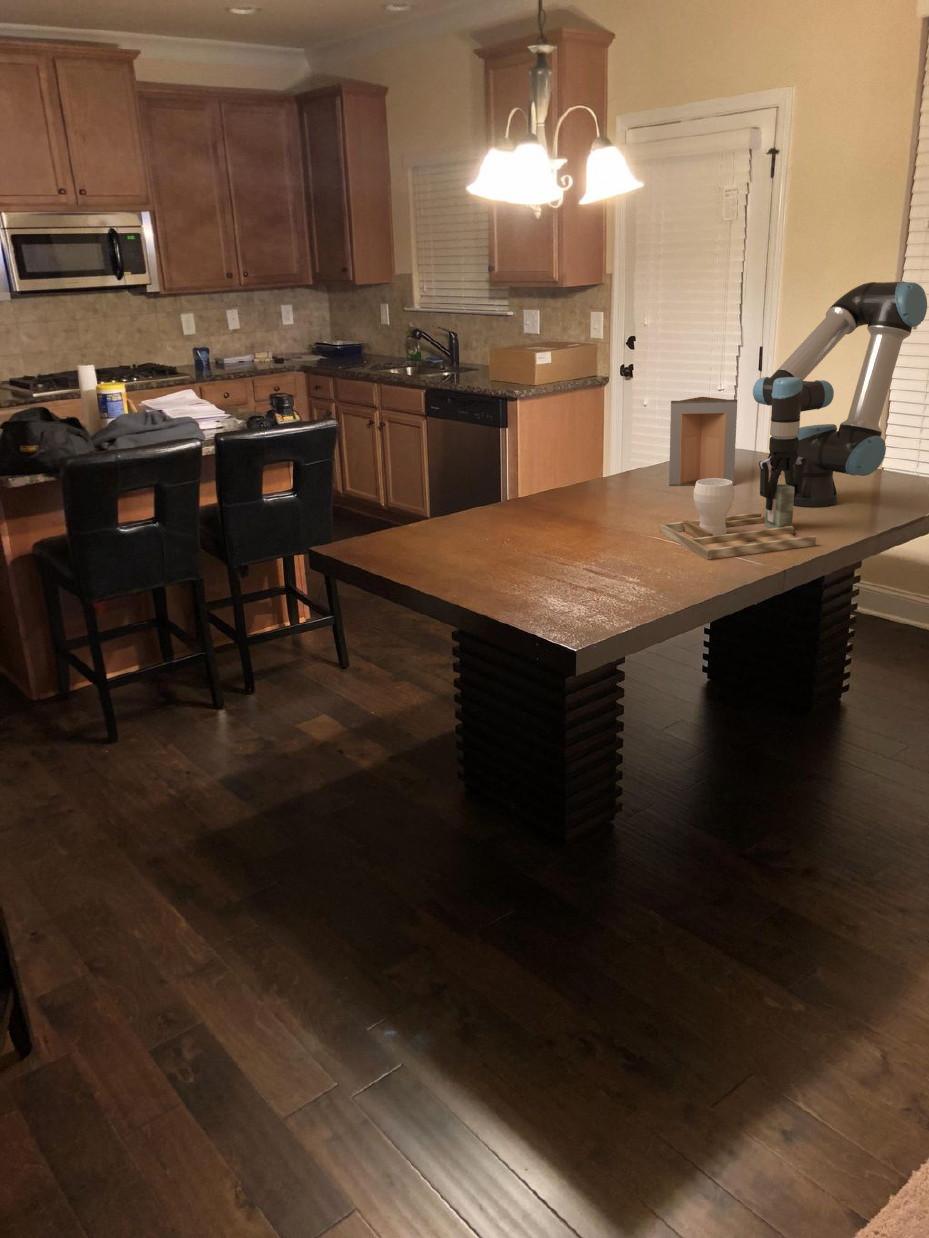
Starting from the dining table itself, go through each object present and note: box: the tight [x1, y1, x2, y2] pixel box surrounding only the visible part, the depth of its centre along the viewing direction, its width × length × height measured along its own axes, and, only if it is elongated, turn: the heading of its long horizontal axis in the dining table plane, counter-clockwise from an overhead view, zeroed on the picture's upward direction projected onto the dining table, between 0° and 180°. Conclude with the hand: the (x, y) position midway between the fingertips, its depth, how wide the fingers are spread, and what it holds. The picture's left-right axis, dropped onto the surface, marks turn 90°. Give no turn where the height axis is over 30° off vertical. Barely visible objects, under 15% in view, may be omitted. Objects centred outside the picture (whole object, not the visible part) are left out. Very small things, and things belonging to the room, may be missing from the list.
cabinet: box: [668, 396, 738, 487], centre depth 324 cm, size 21×10×28 cm, turn 77°
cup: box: [693, 478, 735, 536], centre depth 266 cm, size 11×11×15 cm
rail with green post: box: [682, 481, 796, 538], centre depth 268 cm, size 27×15×12 cm, turn 104°
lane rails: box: [659, 512, 817, 561], centre depth 264 cm, size 31×28×2 cm
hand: (778, 520), depth 272 cm, fingers closed on rail with green post, 4 cm apart
